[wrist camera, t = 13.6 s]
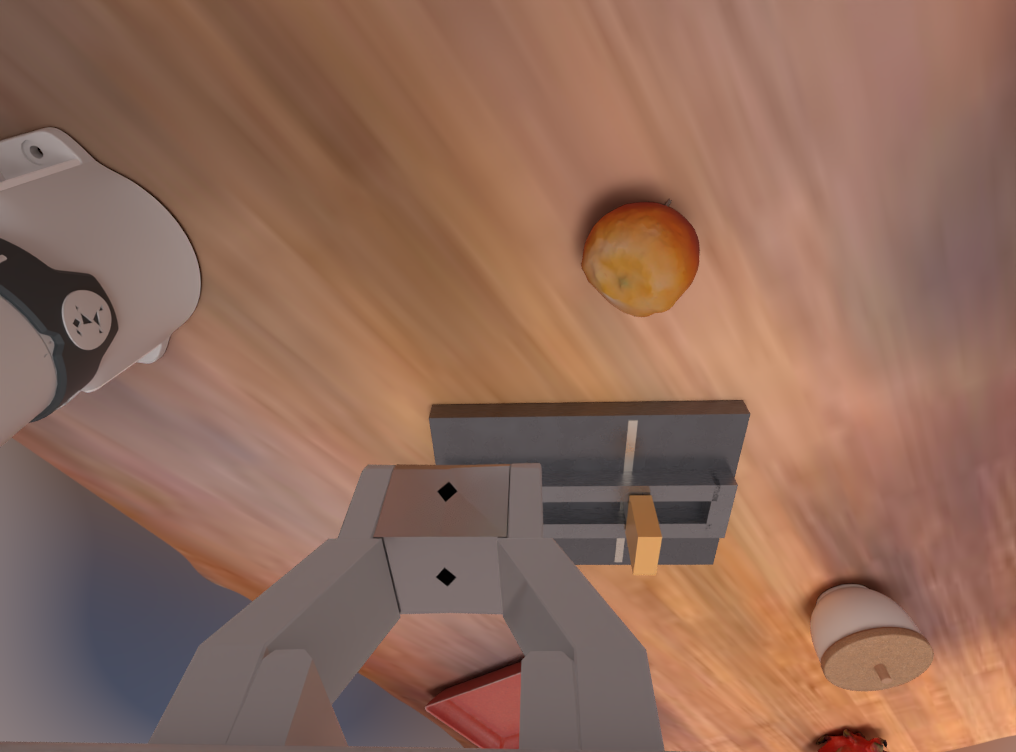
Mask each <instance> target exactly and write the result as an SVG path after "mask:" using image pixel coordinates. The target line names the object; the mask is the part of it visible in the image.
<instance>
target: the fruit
mask: <svg viewBox="0 0 1016 752" xmlns="http://www.w3.org/2000/svg"><path fill="white" fill-rule="evenodd" d="M671 201H672V200H670V199H669V200H668V201H667V202H666V204H665V205H662V204H659V203H655V202H638V203H630V204H625V205H623V206H621V207H618V208H616V209H615V210H613V211H611V212H609V213H607V214H606V215H605V216H603V217H602V218H601V219H600V220H599V221H598V222H597V223H596V224H595V225H594V227H593V228H592V230H591V232H590V234H589V236H588V238H587V240H586V242H585V246H584V252H583V259H582V263H581V266H582V269H583V271H584V273H585V275H586V277H587V280H588V281H589V282H590V283H591V284H592V285H593V286H594V287H595V288H596V289H597V290H598V292H599V293H600V294H601V295H602V296H603V297H604V298H605V299H606V300H607V301H608V302H609V303H611V304H612V305H613V306H614V307H616V308H617V309H619V310H620V311H622V312H624V313H627V314H630V315H633V316H636V317H647V316H650V315H652V314H654V313H661V312H665V311H667V310H669V309H670V308H671V307H672V306H673V305H674V304H675V302H676V301H677V300H678V299H679V298H680V297H681V295H682V294H683V293H684V292H685V291H686V290H687V289H688V287H689V286H690V285H691V283H692V282H693V280H694V277H695V275H696V273H697V270H698V266H699V251H700V250H699V240H698V237H697V234H696V232H695V229H694V228H693V226H692V225H691V224H690V223H689V222H688V221H687V220H686V219H685V218H684V217H683V216H682V215H681V214H680V213H679V212H677V211H676V210H674V209H672V208H671V207H669V205H670V203H671Z"/></svg>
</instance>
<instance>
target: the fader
mask: <svg viewBox="0 0 1016 752" xmlns="http://www.w3.org/2000/svg"><path fill="white" fill-rule="evenodd" d="M623 509H624V514H625V519H626V531H625V534H626V539H627V545H628V550H629V555H630V561H631V566H632V571H633V575H656V571H657V565H658V559H659V553H660V547H661V541H662V534H661V530H660V526H659V523H658V519H657V515H656V511H655V507H654V503H653V499H652V495H633V496H629V502H624V506H623Z"/></svg>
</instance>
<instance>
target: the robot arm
mask: <svg viewBox="0 0 1016 752" xmlns="http://www.w3.org/2000/svg"><path fill="white" fill-rule="evenodd" d="M37 147H39V148H40V149H41V151H42V153H43V155H42V154H40V152H39V151H38V149H37ZM200 288H201V279H200V271H199V266H198V262H197V259H196V256H195V253H194V250H193V248H192V246H191V244H190V242H189V240H188V238H187V236H186V235H185V233H184V231H183V230H182V228H181V227H180V226H179V224H178V223H177V221H176V220H175V219H174V218H173V216H172V215H171V214H170V213H169V212H168V211H167V210H166V209H165V208H164V207H163V206H162V205H161V204H160V203H159V202H158V201H157V200H156V199H155V198H154V197H153V196H151V195H150V194H149V193H148V192H146V191H145V190H144V189H142V188H141V187H140V186H138V185H137V184H135V183H134V182H132V181H130V180H129V179H127V178H125V177H123V176H121V175H119V174H118V173H116V172H114V171H112V170H110V169H108V168H106V167H105V166H103V165H101V164H100V163H98V162H97V161H95V160H94V159H93V158H92V157H91V156H90V155H89V154H88V153H87V152H86V151H85V150H84V149H83V148H82V147H81V146H80V145H79V144H78V143H77V142H75V141H74V140H73V139H72V138H71V137H70V136H68V135H67V134H66V133H64V132H63V131H61V130H59V129H57V128H53V127H46V128H42V129H39V130H35V131H32V132H28V133H25V134H21V135H18V136H14V137H11V138H7V139H4V140H0V447H1V446H2V445H3V444H4V443H6V442H7V441H8V440H9V439H10V438H12V437H13V436H14V435H15V434H16V433H17V432H18V431H20V430H21V429H22V428H23V427H24V426H25V425H27V424H28V423H31V422H34V421H38V420H40V419H42V418H45V417H46V416H48V415H49V414H51V413H52V412H54V411H55V410H57V409H59V408H61V407H62V406H64V405H66V404H67V403H68V402H69V401H71V400H72V399H73V398H74V397H75V396H76V395H77V394H79V392H80V391H84V392H86V393H89V392H93V391H96V390H97V389H99V388H101V387H102V386H104V385H105V384H106V383H108V382H109V381H111V380H112V379H113V378H115V377H116V376H118V375H119V374H121V373H122V372H123V371H125V370H126V369H128V368H129V367H130V366H132V365H133V364H135V363H136V362H138V363H147V364H149V363H153V362H155V361H156V360H158V359H159V358H161V357H162V356H163V355H164V353H165V351H166V348H167V345H168V342H169V338H170V336H171V334H172V333H173V332H174V331H175V330H176V329H178V328H179V327H180V326H181V325H182V324H184V323H185V322H186V321H187V320H188V319H189V317H190V316H191V315H192V313H193V312H194V310H195V308H196V306H197V303H198V300H199V296H200ZM425 613H473V614H503V618H504V620H505V621H506V623H507V625H508V627H509V628H510V630H511V632H512V634H513V636H514V637H515V639H516V641H517V643H518V645H519V646H520V648H521V650H522V652H523V654H524V655H525V657H524V658H523V659H522V660H521V695H520V732H519V749H484V748H418V747H414V748H413V747H411V748H410V747H348V745H347V742H346V740H345V737H344V735H343V732H342V730H341V727H340V725H339V723H338V720H337V718H336V715H335V713H334V710H333V708H332V704H333V702H334V701H335V700H336V699H337V697H338V696H339V695H340V694H341V692H342V691H343V690H344V689H345V687H346V686H347V685H348V683H349V682H350V681H351V680H352V678H353V677H354V676H355V675H356V673H357V672H358V671H359V669H360V668H361V667H362V666H363V664H364V663H365V662H366V661H367V659H368V658H369V657H370V655H371V654H372V653H373V652H374V650H375V649H376V648H377V647H378V645H379V644H380V643H381V641H382V640H383V639H384V638H385V636H386V635H387V634H388V633H389V631H390V630H391V629H392V627H393V626H394V625H395V624H396V622H397V621H398V620H399V619H400V614H425ZM0 752H678V751H665V750H664V745H663V739H662V734H661V729H660V723H659V718H658V712H657V707H656V701H655V696H654V691H653V685H652V680H651V674H650V669H649V664H648V658H647V653H646V649H645V648H644V647H643V646H642V644H641V643H640V642H639V641H638V640H637V638H636V637H635V636H634V635H633V634H632V632H631V631H630V630H629V629H628V628H627V626H626V625H625V624H624V623H623V622H622V620H621V619H620V618H619V617H618V616H617V615H616V613H615V612H614V611H613V610H612V609H611V607H610V606H609V605H608V604H607V603H606V601H605V600H604V599H603V598H602V597H601V595H600V594H599V593H598V592H597V591H596V589H595V588H594V587H593V586H592V585H591V583H590V582H589V581H588V580H587V579H586V577H585V576H584V575H583V574H582V573H581V571H580V570H579V569H578V568H577V567H576V565H575V564H574V563H573V562H572V561H571V560H570V558H569V557H568V556H567V555H566V554H565V552H564V551H563V550H562V549H561V548H560V546H559V545H558V544H557V543H556V542H555V540H554V539H553V538H543V504H542V469H541V465H540V463H517V464H488V465H400V464H397V465H367V466H366V467H365V468H364V469H363V471H362V473H361V475H360V478H359V481H358V484H357V486H356V489H355V492H354V495H353V497H352V500H351V503H350V506H349V508H348V511H347V514H346V516H345V519H344V522H343V525H342V527H341V530H340V533H339V536H338V538H337V539H328V540H326V541H325V542H324V543H323V544H322V545H320V546H319V547H318V548H317V549H316V550H314V551H313V552H312V553H311V554H310V555H308V556H307V557H306V558H305V559H303V560H302V561H301V562H300V563H299V564H297V565H296V566H295V567H294V568H293V569H291V570H290V571H289V572H288V573H287V574H285V575H284V576H283V577H282V578H280V579H279V580H278V581H277V582H276V583H274V584H273V585H272V586H271V587H270V588H268V589H267V590H266V591H265V592H264V593H262V594H261V595H260V596H259V597H257V598H256V599H255V600H254V601H253V602H251V603H250V604H249V605H248V606H247V607H245V608H244V609H243V610H242V611H241V612H239V613H238V614H237V615H236V616H235V617H233V618H232V619H231V620H230V621H228V622H227V623H226V624H225V625H224V626H222V627H221V628H220V629H219V630H218V631H216V632H215V633H214V634H213V635H212V636H210V637H209V638H208V639H207V640H206V641H204V642H203V643H202V644H201V645H199V647H198V649H197V651H196V653H195V655H194V656H193V658H192V661H191V662H190V664H189V666H188V668H187V670H186V672H185V674H184V676H183V677H182V679H181V681H180V683H179V685H178V687H177V689H176V691H175V693H174V695H173V697H172V698H171V700H170V702H169V704H168V706H167V708H166V710H165V712H164V714H163V716H162V718H161V719H160V721H159V723H158V725H157V727H156V729H155V731H154V733H153V735H152V737H151V739H150V740H149V742H148V744H137V743H135V744H134V743H68V742H0Z"/></svg>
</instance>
